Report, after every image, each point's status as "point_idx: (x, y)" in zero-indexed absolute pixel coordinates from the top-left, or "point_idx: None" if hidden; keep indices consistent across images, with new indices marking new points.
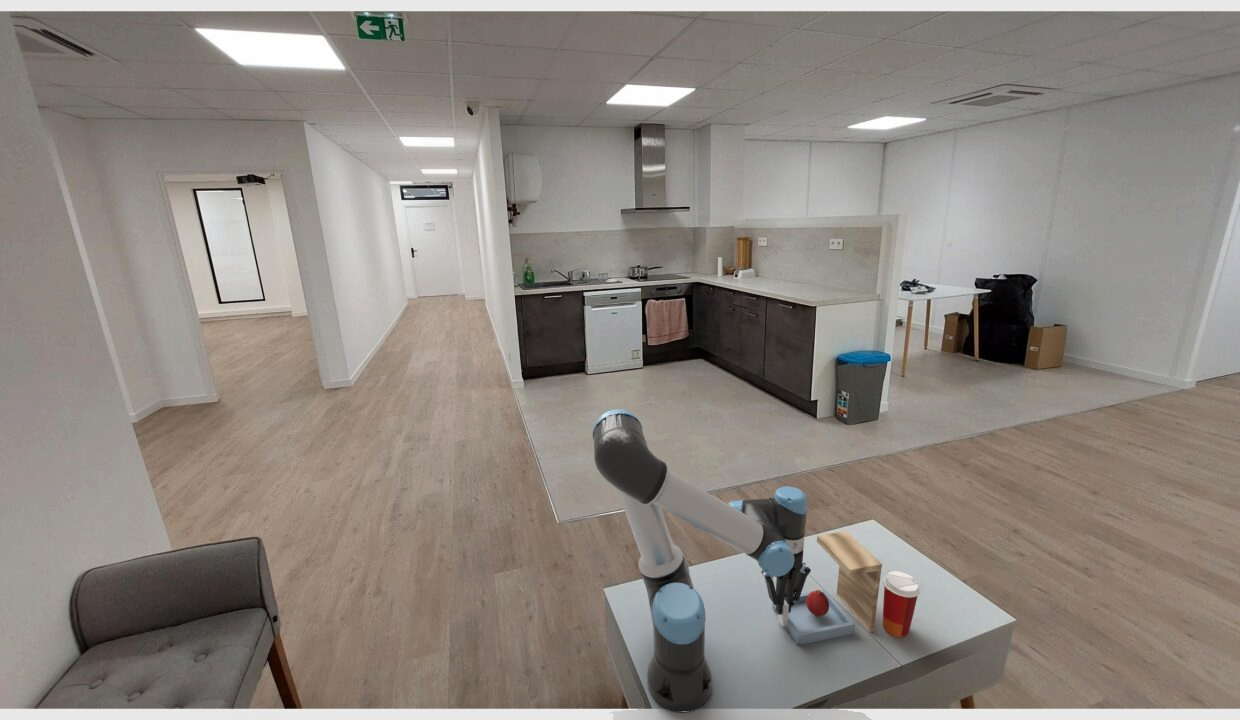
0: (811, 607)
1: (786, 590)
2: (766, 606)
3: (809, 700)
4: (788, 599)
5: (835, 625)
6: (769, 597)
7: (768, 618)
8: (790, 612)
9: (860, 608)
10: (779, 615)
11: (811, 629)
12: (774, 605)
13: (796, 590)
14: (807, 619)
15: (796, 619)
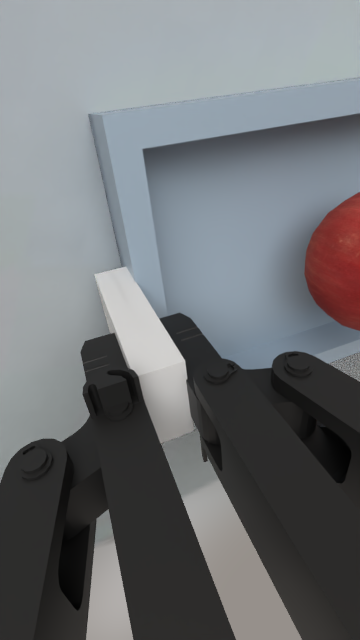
0: (331, 309)
1: (252, 506)
2: (41, 90)
3: (110, 540)
4: (215, 467)
5: (352, 344)
6: (6, 473)
7: (35, 222)
8: (197, 209)
9: None
10: (106, 312)
11: (246, 323)
12: (103, 153)
13: (355, 496)
14: (262, 263)
15: (207, 265)
